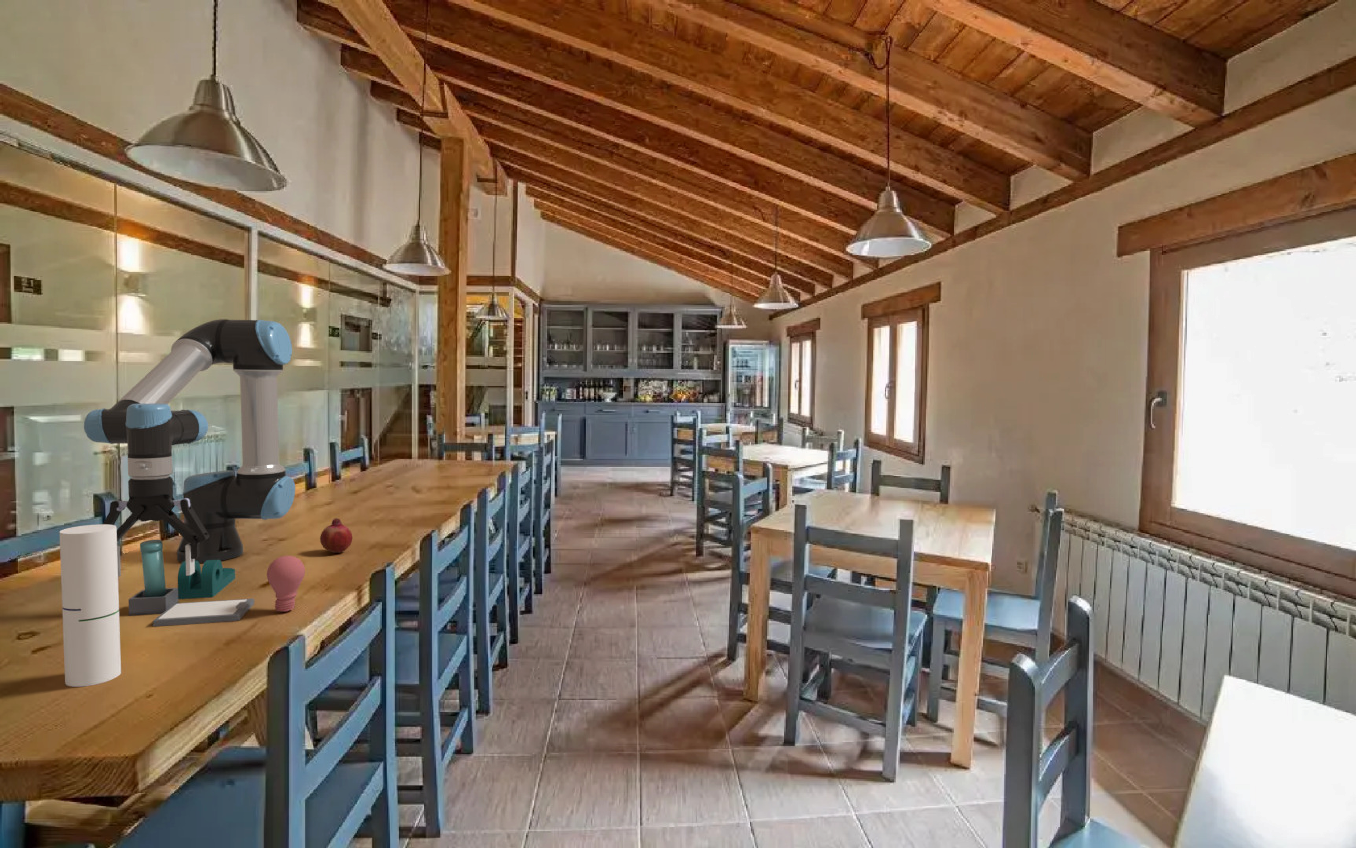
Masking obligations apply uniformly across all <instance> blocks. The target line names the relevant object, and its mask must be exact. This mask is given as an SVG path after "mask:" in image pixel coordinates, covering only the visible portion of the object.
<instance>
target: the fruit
mask: <svg viewBox="0 0 1356 848" xmlns="http://www.w3.org/2000/svg"><path fill="white" fill-rule="evenodd" d="M319 539H320V541H319V542H320V544H321V546H322V548H323V549H325V550H326V551H327V552H331V553H334V554H339V553H342V552H345V551H346V550H348V548H349V547H351V545H352V542H353V533H352V531H351V529H349V527H347V526H346V525H344V524H343V523H342V521H341V519H340V518H337V517H336V518H334V519H332V522H331V524H330V525H328V526H326V527H325V528H324V529H323V530H322V532H321V534H320V537H319Z"/></svg>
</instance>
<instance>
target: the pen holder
mask: <svg viewBox="0 0 1356 848" xmlns="http://www.w3.org/2000/svg"><path fill="white" fill-rule="evenodd" d="M175 603H179V599H178V587H170V588H167V587H166V595H165V596H163V597H146V598H145V589H141V590H140V591H138V592H137V593H135V594H134V595H132V596H131V597H129V598H128V616H130V617H132V616H142V615H143V616H145V615H158V614H159V615H161V614H162V613H163V612H165V611H166V610H167V609H168V608H170V607H171V606H172V605H174V604H175Z"/></svg>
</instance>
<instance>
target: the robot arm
mask: <svg viewBox="0 0 1356 848" xmlns="http://www.w3.org/2000/svg"><path fill="white" fill-rule="evenodd" d="M292 352H293V347H292V341H291V337H290V336H289V332H288V331H287V330H286V328H285V327H284V326H283V324H281V323H280V322H276V321H273V320H264V319H260V320H258V319H257V320H256V319H227V318H224V319H223V318H222V319H221V318H220V319H214V320H211V321H207V322H204V323H202V324H200V325H198V326H195V327H194V328H192V329H189V330H188V331H186V332H185V333H184V334H182V335H181V336H180V337H179V338H177V340H175V342H173V344H172V345H171V348H170V352H169V353H168V354H167V355H166V356H165V357H164V358H163V359H162V360H160V362H159V363H158V364H156V365H155V366H154V367H153V368H152V369H151V370H150V371H149V372H147V374H145V376H144V377H143V378H142V379H140V380H139V381H138V382H137V383H136V384H135V385H134V386H133V387H132V388H130V390H128V392H127V393H125V394H124V395H123V396H122V397H121V398H120V399H119V400H118V401H117V402H116V403H114V405H113V406H112V407H111V408H102V409H94V410H91V411H90V412H88V413H87V414H86V416H85V419H84V421H83V430H84V433H85V435H86V436H87V438H88V439H89V440H90V441H92V442H95V443H103V444H110V445H114V444H126V445H127V475H128V477H131V478H129V479H128V481H127V483H128V486H127V487H128V500H127V501H126V500H123V499H120V498H119V499H115V500H113V501H111V502H110V503H109V504H110V506H109V512H108V513H107V515H106V517H105V520H103V522H102V524H107V525H115V524H116V522H117V520H118V518H119V516H120V515H121V513H122V511H124V510H125V509H126V508H127V509H128V511H130V513H131V514H130V515H129V516H127V518H126V519H125V520H124V522H123V523H122V524H121V525H120V526H119V527H118V528H116V529H117V543H118V542H119V541H120V540H121V539H122V537H124V535H125V534H127V532H128V531H129V530H130V529H131V528H132V527H133V526H134V525H135V524H136V523H137V522H138V521H141V522H148V521H152V522H159V521H164V522H165V523H167V524H168V525H169V526H170V527H171V528H172V529H174V530H175V531H176V532H177V533H178V534H179V535H180V536H181V539H180V541H179V545H178V548H177V550H176V557H177V558H176V560H177V561H179V562H181V563H182V562H184V561H186V576H188V575H191V574H193V573H194V572H195V561H198V562H199V564H200V563H201V564H204V562H205V561H206V560H220V561H221V562H222V561H226V560H230V559H234V558H237V557H240V556H242V555H243V554H244V544H243V542H242V540H241V537H240V534H239V532H238V530H237V527H236V520H239V519H240V520H264V521H266V520H276V519H280V518H282V517H284V516H286V515H287V513H288V512H289V511H290V509H291V508H292V505H293V504H294V500H295V495H296V484H295V482H294V481H295V480H294V479H293V478H292V477H290V476H288V475H287V474H286V472H287V471H286V468H285V467H284V466H283V465H282V464H280V451H279V449H280V448H279V446H280V445H279V415H278V414H279V409H278V376H279V375H281V374H282V373H283V371H284V365H286V364H288V363H290V361H291V359H292V357H291V356H292V355H293V353H292ZM223 363H225V364H232V370H233V372H234V373H236V374H237V375H238V376H239V381H240V382H239V383H240V385H239V386H240V387H239V388H240V414H241V417H240V418H241V420H240V421H241V452H242V455H241V456H242V464H241V466H240V467H239V468H238V469H237V470H236V473H235V471H234V470H228V469H227V470H219V471H212V472H211V471H210V472H204V473H199V474H193V475H190V476H188V477H186V478H185V479H184V480H183V489H182V490H183V491H182V496H183V497H182V499H175V498H174V481H173V480H174V479H173V477H172V476H170V475H172V474H173V454H172V453H173V452H172V451H173V446H177V445H178V446H179V445H183V444H187V445H191V443H194V442H198V441H200V440H202V439H204V438H205V436H206V435H207V433H208V430H209V423H208V420H207V418H206V416H205V415H204V414H203V413H201V412H199V411H198V410H195V409H194V410H193V409H192V410H191V409H180V410H172V409H171V407H170V405H169V403H170V402H172V400H173V399H174V398H175V397H176V396H177V395H178V394H180V392H181V391H182V390H183V389H184V388H185V387H186V386H187V385H188V384H189V383H190V382H191V381H192V380H193V379H194V378H195V377H196V376H197V375H198V374H199V372H204V371H206V370H208V369H209V368H210V367H212V365H216V364H223ZM175 507H177V508H178V510H181V513H182V514H183V521H184V522H183V521H182V520H181V519H180V518H179V517H178V515H177V514H176V513H175V512H174V511H173V509H174V508H175ZM117 561H118V578H119V577H121V576H122V573H121V572H122V570H121V569H122V568H121V546H120V545H117Z"/></svg>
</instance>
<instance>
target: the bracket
mask: <svg viewBox="0 0 1356 848" xmlns="http://www.w3.org/2000/svg"><path fill="white" fill-rule="evenodd" d="M235 579H236V569H235V568H233V567H223V564H222V560H221V561H220V560H206V561H205V562H204V563H202V567H201V564H200V563H199V562H198V561H195V572H194V573H193V574H191V575H188V576H186V561H184V562H181V563H180V566H179V569H178V573H177V588H178V600H186V599H187V600H190V599H192V600H193V599H207V598H208V599H209V598H214V597H215V596H216V595H217V594H219V593H220V592H221V591H222V590H224V589H225V588H226V587H227V586H228V585H229V584H231V583H232V582H233V581H235Z"/></svg>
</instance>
